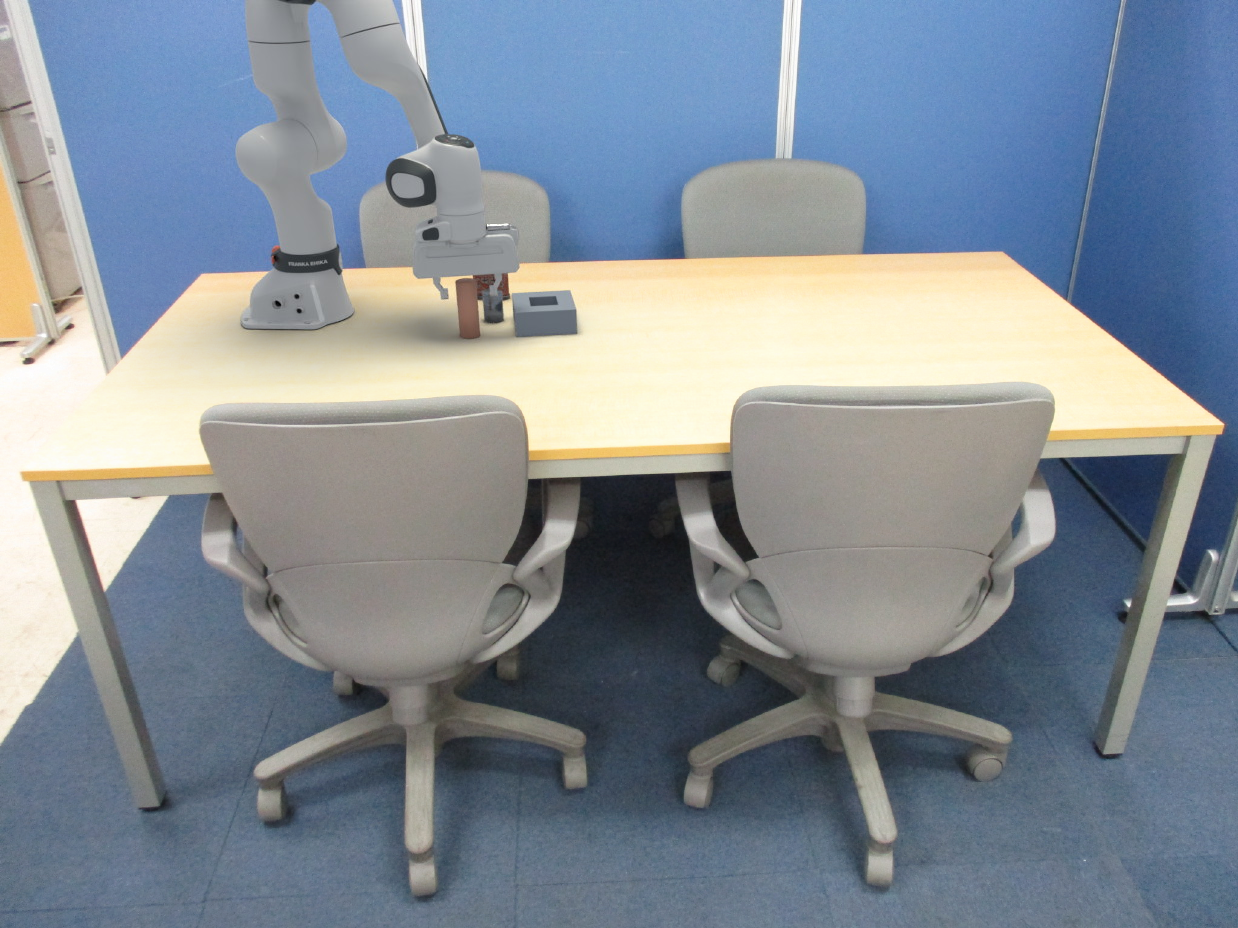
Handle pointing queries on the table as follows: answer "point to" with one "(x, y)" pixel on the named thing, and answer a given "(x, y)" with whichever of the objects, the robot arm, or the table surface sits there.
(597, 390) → the table surface
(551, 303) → the bore block
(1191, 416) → the table surface
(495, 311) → the short pin
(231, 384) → the table surface
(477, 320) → the long pin
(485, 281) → the lighter
